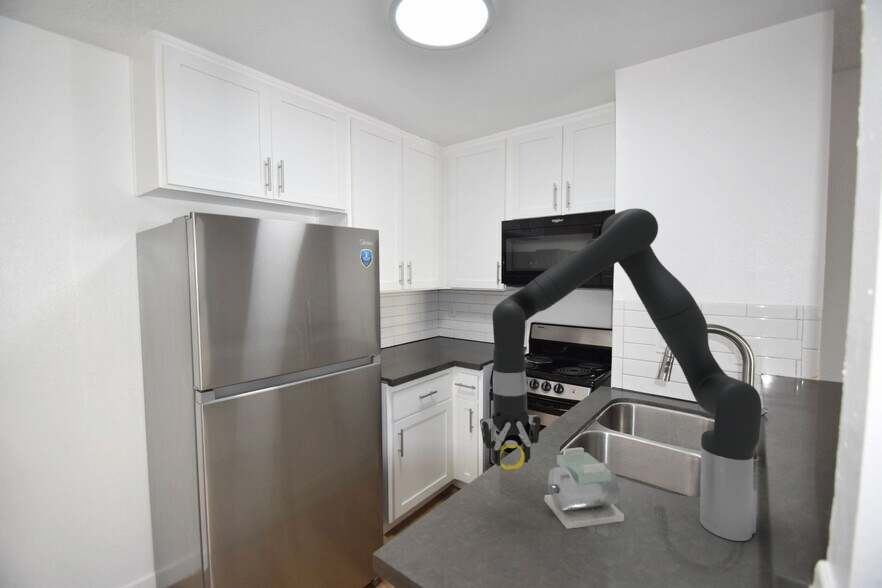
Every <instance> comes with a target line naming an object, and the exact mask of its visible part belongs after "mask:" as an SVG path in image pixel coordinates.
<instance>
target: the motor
mask: <svg viewBox="0 0 882 588" xmlns="http://www.w3.org/2000/svg"><path fill="white" fill-rule="evenodd" d="M562 453H563V454H557V455H556V463H557V465H558V466H559V467H558V466H557V467H551V468H550V469H549V472H548V481H547V482H548V485H547V486H546V488H547V492H548V494H544V502H545V503H546V505H547V506H548V508H550V509H551V511H552V512H553V513H554V515H555V516H556V518H558V520H559V521H560V522H561V524H562V525H563V526H564V527H565V529H566V530H569V529H575V528H576V529H577V528H584V527H591V526H598V525H599V526H600V525H606V524H607V525H608V524H614V523H622V522H625V514H624V513H623V512H622V511H621V510H620V509H619V508H618V507H616V505H615V504H617V503H618V501H620V499H619V498H620V492H621V491H620V484H619V481H618V477H617V476H616V473H615V472H614V469H613V468H612V467H611V466H610V465H609V464H608V463H606V462H600V461H598V460H597V459H596V458H595V457H594V456H592V455H591V454H589V453H588V452H587V451H585V448H583V447H572V448H563V449H562Z"/></svg>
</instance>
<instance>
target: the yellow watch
mask: <svg viewBox="0 0 882 588" xmlns="http://www.w3.org/2000/svg"><path fill="white" fill-rule="evenodd" d="M504 441H505V440H504ZM508 448H509V449H515V448H518V449H519V450H520V454H521V457H520V459H519V460H518V462H517V463H516V464H512V465H511V464H510V465H505V464H503V462H502V461H501V456H502V453H503V452H504V450H505V449H508ZM499 449H500V466H501V467H502V468H503V469H504V470H516V469H520V468H521V467H522V466H523V465H524V458H525V455H524V451H523V450H522V448H521V446H520V445H519V444H518V442H517V441H516V440H510V439H509V440H506V441H505V442H504V444H503V445H502V444H501V445H500V448H499Z"/></svg>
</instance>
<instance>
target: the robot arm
mask: <svg viewBox="0 0 882 588" xmlns="http://www.w3.org/2000/svg"><path fill="white" fill-rule="evenodd" d="M658 232H659V223H658V221H657V218H656V217H655V215H653V213H651V212H650V211H648V210H646V209H643V208H635V207H634V208H628V209H624V210H621V211H619V212H616V213H614V214H611V215H610V216H609V217H607V219H605V221H604V223H603V225H602V228H601V234H600V235H599V236H598V237H597V238H595V239H594V240H592V241H591V243H589V244H587V245H586V246H585V247H583V248H581V249H580V250H579V251H577V252H575V253H574V254H573V253H572V254H571V255H569V256H568V257H566V258H564V259H563V260H561V261H560V262H558V263H556V264H554V265H552V266H551V267H550V268H548V269H546V270H545V271H544V272H542V273H540V274H538V276H536V277H535V278H534V279H533V280H531V281H530V282H529V283H528V284H526V285H525V286H524V287H523V288H521V289H519V290H518V291H516V292H515V293H512V294H511V295H509V296H508V297H506V298H505V299H503V300H502V301H500V302H499V303H498V304H497V305H496V306H495V307H494V309H493V311H492V316H491V317H492V329H493V344H494V345H493V346H494V347H493V358H492V359H493V360H492V361H493V373H492V402H493V403H492V405H493V406H492V409H493V413H492V416H491V418H487V419H485V418H481V419H479V423H480V424H479V426H480V432H481V437H482V442H483V445H485V447H486V448H487V449H491V460H492V461H493V463H494V464H495V465H496V466H497V467H500V466H501V465H500V447H501V446H502V443H503V442H504V441H505V438H506V437H509V436H512V435H513V436H519V437H520V440H521V442H522V443H521V446H520V447H521V448H522V450H523V451H524V455H525V458H524V462H523V464H525V463H527V464H528V463H529V460H530V459H531V446H532V445H533V444H538V443H539V440H540V439H539V438H540V432H541V431H540V429H541V420H542V419H541V417H540V416H539V415H537V414H536V413H532V414H528V395H527V394H528V391H527V390H528V385H527V384H528V383H527V375H526V354H525V340H526V339H525V338H526V321H527V320H529V319H530V318H532V317H534V316H535V315H536V314H538V313H539V312H543V311H546V310H547V309H549V308H552V306H554V305H555V304H556V303H558V302H559V301H561V300H563V299H564V298H565V297H567V296H568V295H569V294H571V293H573V291H575V290H576V289H578V288H579V287H580V286H582V285H584V284H585V283H586V282H587V281H589V280H590V279H592V278H593V277H595V276H596V275H598V274H600V273H601V272H602V271H604V270H606V269H608V268H609V267H611V266H614V265H616V263H618V264H619V266H620V267H621V268H622V270H623V271H624V272H625V274H626V276H627V277H628V279H629V281H630V282H631V285H632V286H633V289H634V290H635V293H636V294H637V296H638V297H639V300H640V301H641V302H642V305H643V307H644V308H645V310H646V312H647V313H648V316H649V317H650V320H651V321H652V323H653V325H654V327H656V330H657V331H658V333H659V334H660V336H661V337H662V339H663V340H664V343H665V344H666V346H667V347H668V349H669V350H670V352H671V353H672V355H673V357H674V358H675V360H676V362H678V365H679V367H680V368H681V370H682V373H683V375H684V377H685V378H686V382H687V384H688V386H689V388H690V391H691V393H692V396H693V397H694V400H695V401H696V402H697V404H698V405H699V406H700V407H701V408H702V409H703V410H704V411H705V412H707V413H709V414H710V415H712V416H714V424H713V430H706V431H704V432H703V433H702V434H701V438H700V439H701V440H700V441H701V443H700V445H701V446H700V495H699V496H700V497H699V498H700V499H699V500H700V503H699V504H700V505H699V522H700V524H701V526H703V529H705V530H707V531H708V532H709V533H712V534H713V535H715V536H718V537H720V538H723V539H726V540H730V541H736V542H745V541H749V540H751V538H752V536H753V535H755V534H754V533H757V498H758V497H757V493H758V491H757V490H756V488H754V455H755V450H756V448H757V445H758V443H759V440H760V432H761V423H762V422H761V421H762V400H761V396H760V394H759V391H758V389H756V388H755V387H754V386H753V385H751V384H750V383H748V382H746V381H742V380H740V379H737V378H734V377H733V376H732V377H731V376H729V375H728V374H726V372H724V370H723V369H722V368H721V366H720V365H719V363H718V362H717V360H716V358H715V357H714V355H713V354H712V351H711V349H710V345H709V344H710V343H709V330H708V324H707V321H706V318H705V316H704V314H703V312H702V310H701V308H700V307H699V305H698V304H697V301H696V300H695V298H694V296H693V295H692V293H691V292H690V291H689V290H688V289H687V288H686V286H685V285H684V284H682V282H681V281H680V280H679V279H678V278H677V277H675V275H673V274H672V273H671V272H670V271H669V270H668V269H667V268H666V267H665V266H664V265H663V263H662V262H661V261H660V260H659V258H658V257H657V256H656V253H655V251H654V250H653V248H652V246H651V245H652V244H653V243H654V242H655V240H656V238H657V236H658V234H659V233H658ZM528 423H529V435H528V434H527V432H526V430H525V427H526V426H527V424H528ZM492 425H493V426H495V430H494V432H493V437H492V439H491V433H490V430H491V429H492Z"/></svg>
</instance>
